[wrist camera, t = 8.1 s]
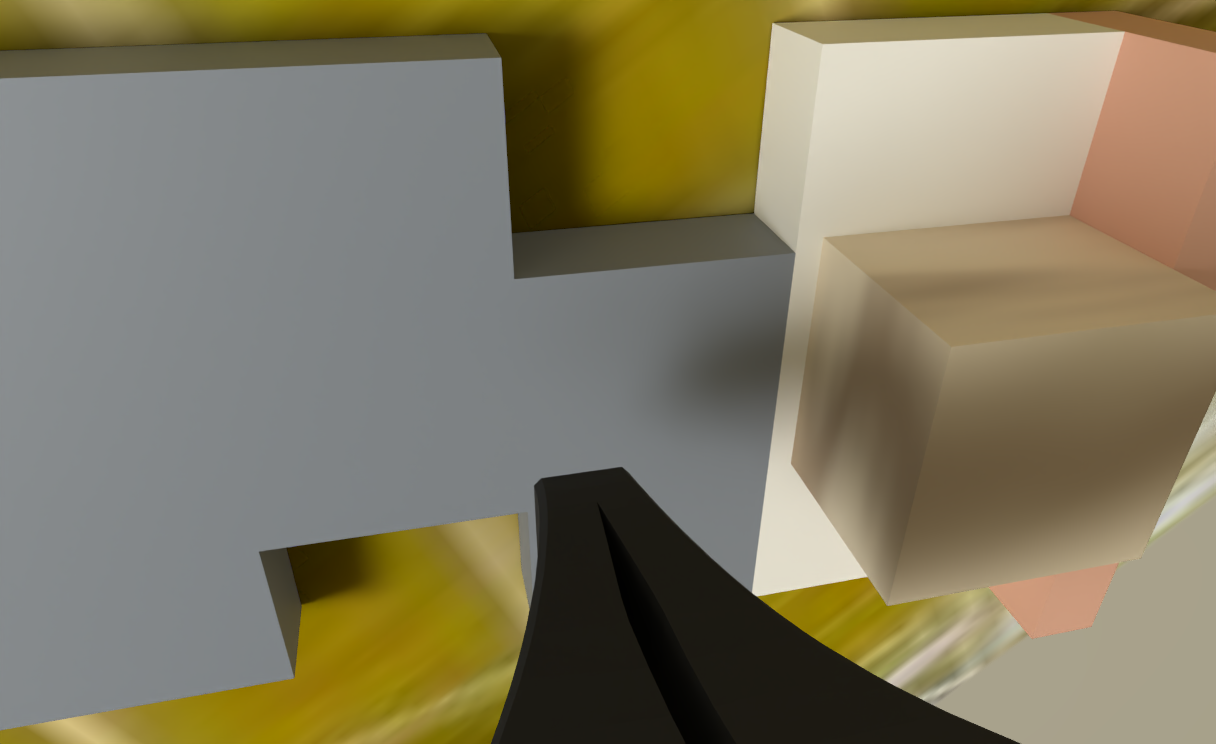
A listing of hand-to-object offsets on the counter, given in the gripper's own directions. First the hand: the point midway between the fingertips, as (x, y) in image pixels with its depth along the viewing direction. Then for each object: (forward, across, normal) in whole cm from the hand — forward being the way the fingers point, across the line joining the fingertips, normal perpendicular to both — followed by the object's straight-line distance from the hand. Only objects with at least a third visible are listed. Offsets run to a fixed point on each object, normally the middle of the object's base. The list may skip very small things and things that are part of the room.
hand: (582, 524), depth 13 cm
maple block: (+3, -8, 0) cm, 8 cm away
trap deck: (+5, 0, 0) cm, 5 cm away
